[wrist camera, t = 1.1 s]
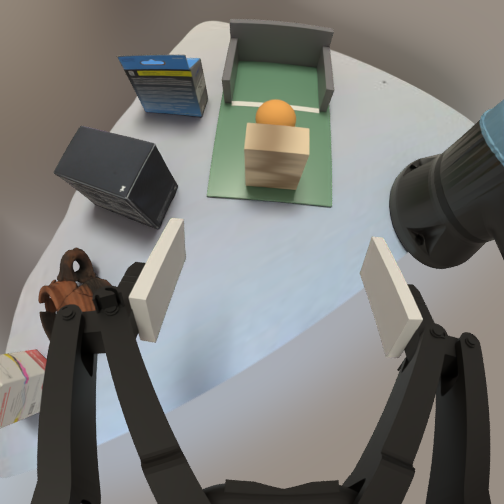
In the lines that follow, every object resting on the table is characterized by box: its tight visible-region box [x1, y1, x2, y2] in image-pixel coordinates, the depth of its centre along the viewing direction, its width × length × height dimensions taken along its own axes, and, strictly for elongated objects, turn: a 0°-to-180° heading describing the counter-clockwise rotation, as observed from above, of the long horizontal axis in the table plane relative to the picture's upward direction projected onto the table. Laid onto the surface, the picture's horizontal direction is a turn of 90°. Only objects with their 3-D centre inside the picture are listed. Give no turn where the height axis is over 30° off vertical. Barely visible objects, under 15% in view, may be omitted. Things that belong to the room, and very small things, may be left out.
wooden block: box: [244, 123, 309, 190], centre depth 31 cm, size 6×3×9 cm, turn 85°
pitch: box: [207, 19, 334, 207], centre depth 34 cm, size 15×24×8 cm, turn 175°
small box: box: [54, 126, 178, 229], centre depth 31 cm, size 11×6×10 cm, turn 69°
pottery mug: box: [39, 248, 112, 340], centre depth 31 cm, size 12×10×8 cm
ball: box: [255, 99, 296, 127], centre depth 35 cm, size 5×5×5 cm
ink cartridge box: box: [0, 350, 47, 428], centre depth 24 cm, size 9×5×15 cm, turn 150°
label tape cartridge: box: [117, 55, 208, 117], centre depth 32 cm, size 9×4×12 cm, turn 78°
